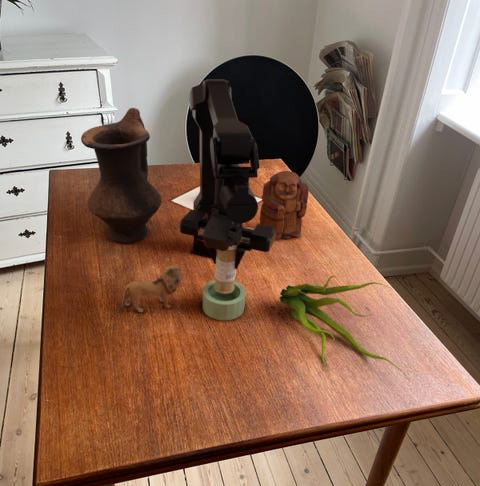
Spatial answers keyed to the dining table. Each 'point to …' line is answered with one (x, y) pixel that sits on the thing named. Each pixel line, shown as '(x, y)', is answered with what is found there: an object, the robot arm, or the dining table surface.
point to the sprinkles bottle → (225, 270)
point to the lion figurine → (154, 288)
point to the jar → (223, 302)
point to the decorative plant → (310, 306)
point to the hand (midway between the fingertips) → (225, 265)
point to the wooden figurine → (284, 204)
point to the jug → (122, 178)
